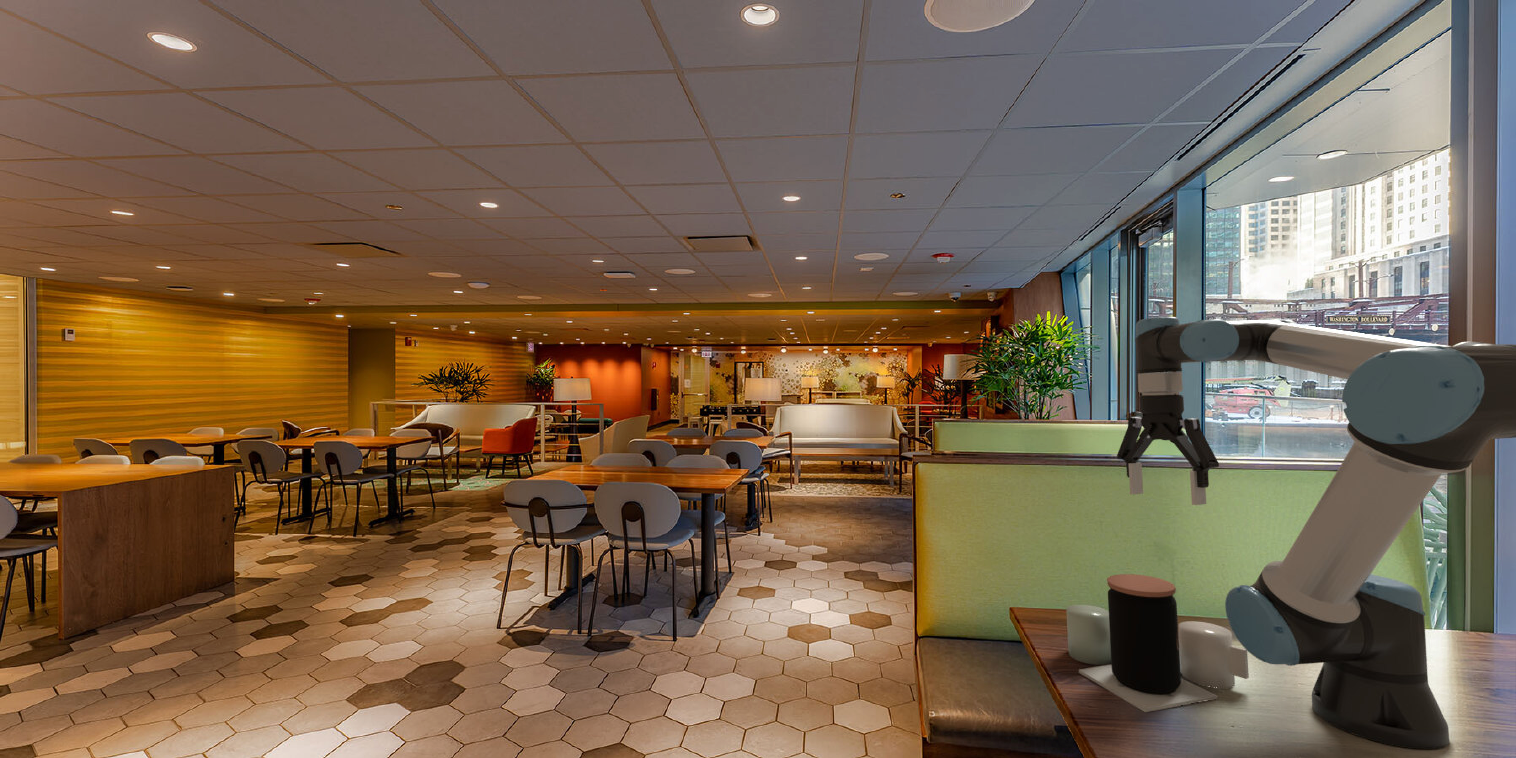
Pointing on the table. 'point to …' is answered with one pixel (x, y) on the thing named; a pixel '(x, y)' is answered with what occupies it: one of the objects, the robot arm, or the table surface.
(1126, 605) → the coffee jar
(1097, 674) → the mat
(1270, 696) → the table surface
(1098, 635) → the mug sage
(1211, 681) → the mug cream
